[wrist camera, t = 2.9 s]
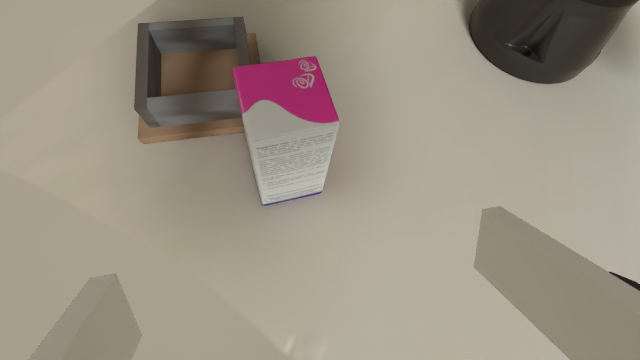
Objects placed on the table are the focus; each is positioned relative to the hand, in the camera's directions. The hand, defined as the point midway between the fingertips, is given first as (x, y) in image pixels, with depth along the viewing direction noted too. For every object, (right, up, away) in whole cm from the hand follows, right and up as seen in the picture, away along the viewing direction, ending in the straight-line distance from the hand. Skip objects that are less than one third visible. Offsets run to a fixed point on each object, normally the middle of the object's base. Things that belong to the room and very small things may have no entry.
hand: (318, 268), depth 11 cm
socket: (-12, +13, +21) cm, 27 cm away
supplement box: (-3, +4, +18) cm, 19 cm away
